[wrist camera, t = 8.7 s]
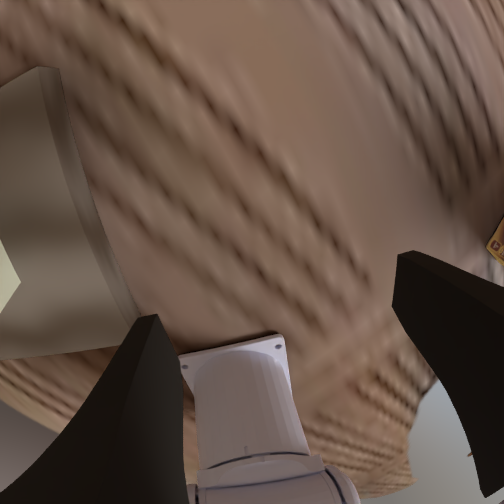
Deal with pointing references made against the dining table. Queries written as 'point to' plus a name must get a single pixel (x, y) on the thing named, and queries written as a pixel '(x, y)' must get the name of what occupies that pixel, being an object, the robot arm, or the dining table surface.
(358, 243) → the dining table surface
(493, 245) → the candy box
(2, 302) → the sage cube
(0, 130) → the taupe base
